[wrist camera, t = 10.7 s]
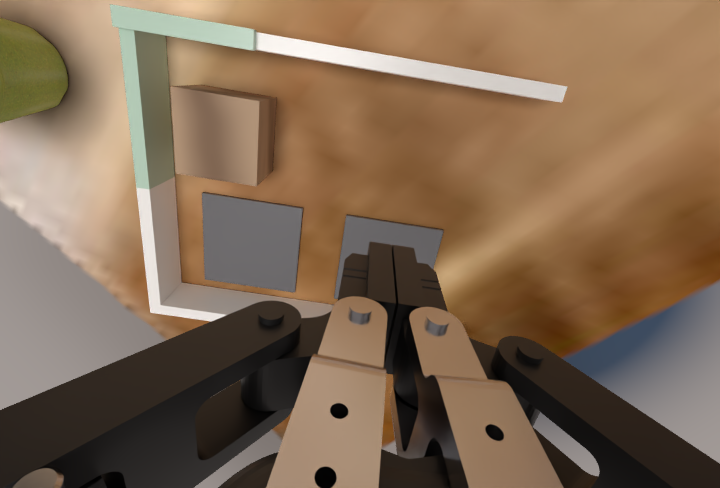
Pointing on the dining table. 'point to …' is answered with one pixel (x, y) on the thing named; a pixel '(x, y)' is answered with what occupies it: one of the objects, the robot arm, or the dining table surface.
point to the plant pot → (28, 72)
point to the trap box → (238, 215)
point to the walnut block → (223, 133)
